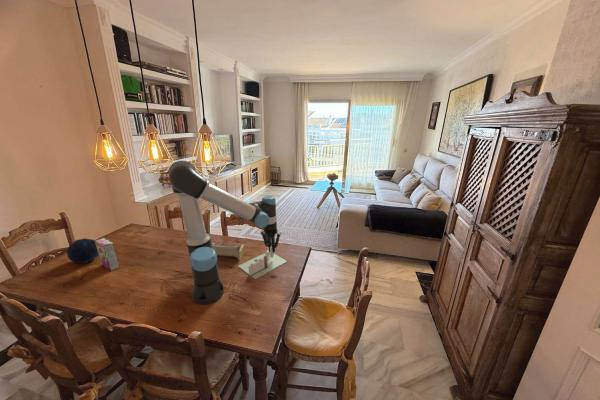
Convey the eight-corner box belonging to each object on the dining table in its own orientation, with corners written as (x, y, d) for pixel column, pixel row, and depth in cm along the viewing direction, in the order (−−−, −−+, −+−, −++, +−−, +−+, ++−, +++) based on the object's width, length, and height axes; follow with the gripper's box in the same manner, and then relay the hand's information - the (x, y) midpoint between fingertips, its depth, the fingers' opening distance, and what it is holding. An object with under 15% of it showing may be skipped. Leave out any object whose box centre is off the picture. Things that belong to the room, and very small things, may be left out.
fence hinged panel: (267, 265, 141) (267, 255, 139) (265, 265, 141) (264, 255, 139) (270, 255, 152) (270, 245, 149) (268, 255, 152) (268, 245, 149)
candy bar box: (101, 265, 140) (93, 240, 134) (111, 261, 144) (104, 237, 138) (110, 271, 134) (103, 246, 129) (120, 267, 138) (113, 242, 133)
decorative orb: (93, 259, 136) (94, 234, 140) (59, 265, 131) (61, 238, 135) (104, 261, 149) (104, 238, 153) (74, 266, 143) (75, 242, 148)
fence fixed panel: (250, 276, 132) (249, 265, 129) (248, 274, 133) (248, 263, 131) (267, 267, 140) (267, 256, 138) (266, 265, 141) (265, 255, 139)
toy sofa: (244, 253, 155) (243, 239, 152) (240, 260, 147) (239, 246, 144) (213, 251, 156) (212, 237, 153) (208, 259, 148) (206, 244, 145)
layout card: (254, 279, 130) (254, 278, 130) (238, 266, 141) (238, 265, 141) (287, 261, 146) (286, 261, 146) (269, 251, 157) (269, 250, 157)
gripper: (282, 220, 140) (284, 254, 148) (263, 218, 144) (265, 251, 152) (277, 225, 133) (279, 261, 141) (257, 223, 137) (260, 258, 145)
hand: (272, 256), depth 146 cm, fingers closed
